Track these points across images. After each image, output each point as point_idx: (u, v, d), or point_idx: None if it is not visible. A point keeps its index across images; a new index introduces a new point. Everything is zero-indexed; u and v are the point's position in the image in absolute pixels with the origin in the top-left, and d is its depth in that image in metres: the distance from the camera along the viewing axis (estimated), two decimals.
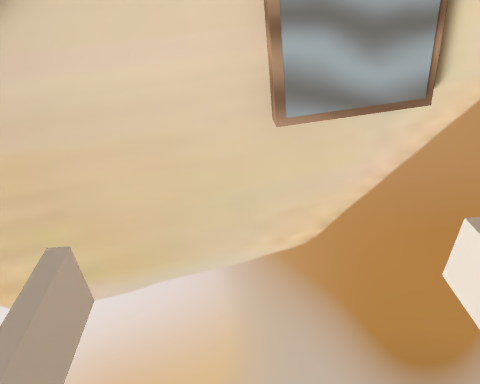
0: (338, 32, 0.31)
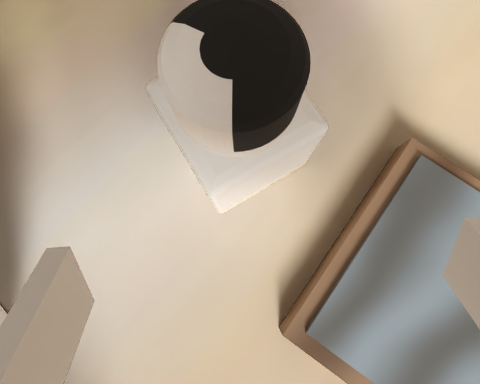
0: (472, 351, 0.21)
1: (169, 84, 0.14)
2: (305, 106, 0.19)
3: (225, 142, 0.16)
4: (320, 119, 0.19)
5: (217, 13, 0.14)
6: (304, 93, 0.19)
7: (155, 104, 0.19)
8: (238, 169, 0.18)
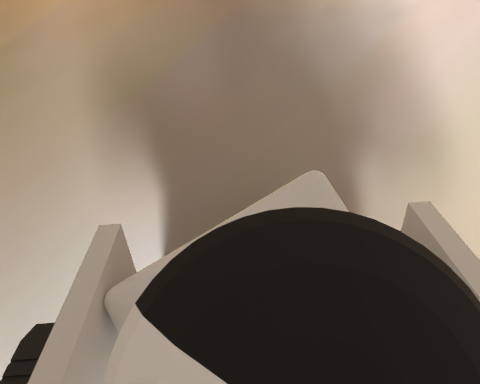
0: None
1: None
2: None
3: None
4: None
5: (273, 317, 0.05)
6: None
7: None
8: None
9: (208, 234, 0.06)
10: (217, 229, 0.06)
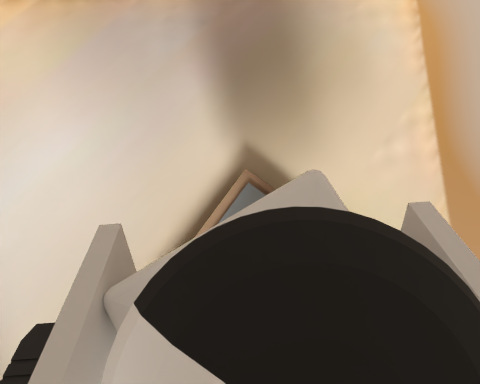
0: None
1: None
2: None
3: None
4: None
5: (272, 317, 0.05)
6: None
7: None
8: None
9: (207, 233, 0.06)
10: (216, 228, 0.06)
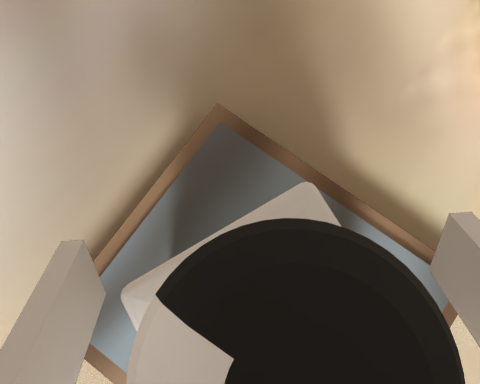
0: None
1: None
2: None
3: None
4: None
5: (265, 304, 0.06)
6: None
7: (136, 329, 0.11)
8: None
9: (214, 239, 0.07)
10: (221, 235, 0.07)
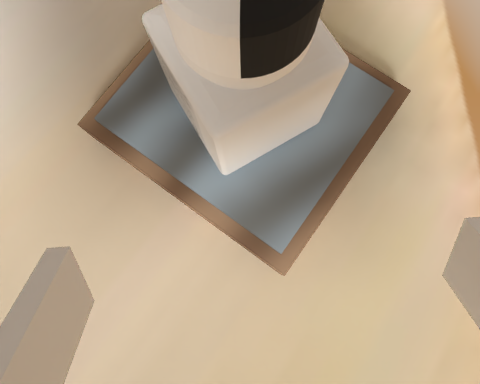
0: None
1: None
2: (323, 37, 0.17)
3: (232, 59, 0.13)
4: (340, 52, 0.17)
5: None
6: (321, 24, 0.17)
7: (152, 36, 0.17)
8: (245, 106, 0.16)
9: None
10: None
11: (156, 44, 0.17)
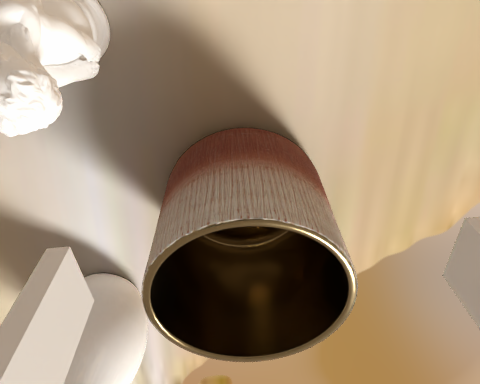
0: None
1: None
2: None
3: None
4: None
5: None
6: None
7: None
8: None
9: None
10: None
11: None
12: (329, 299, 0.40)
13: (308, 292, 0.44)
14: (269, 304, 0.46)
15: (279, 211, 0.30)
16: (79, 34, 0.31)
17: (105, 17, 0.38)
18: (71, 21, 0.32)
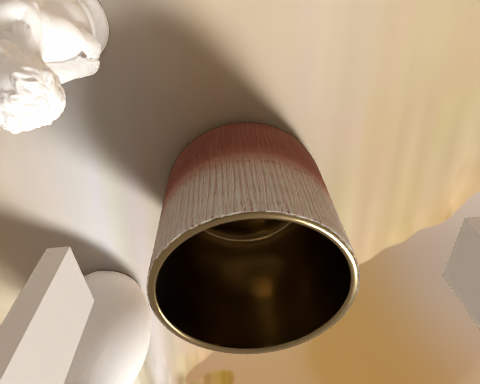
0: None
1: None
2: None
3: None
4: None
5: None
6: None
7: None
8: None
9: None
10: None
11: None
12: (331, 290, 0.40)
13: (310, 284, 0.44)
14: (272, 296, 0.47)
15: (281, 203, 0.31)
16: (79, 31, 0.31)
17: (103, 14, 0.38)
18: (71, 18, 0.32)
